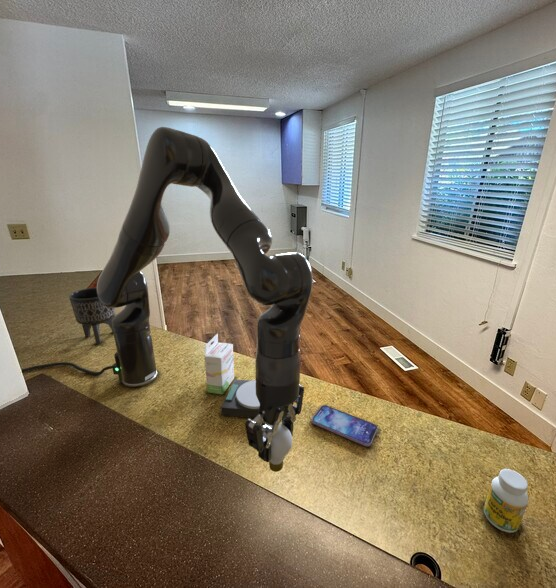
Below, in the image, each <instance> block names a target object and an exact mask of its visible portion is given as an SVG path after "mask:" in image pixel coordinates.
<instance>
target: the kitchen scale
mask: <svg viewBox="0 0 556 588" xmlns="http://www.w3.org/2000/svg"><path fill="white" fill-rule="evenodd" d="M259 407H260V403H259V401H258V398H257V396H256V379H254V380H253V379H252V380H249V379H248V380H247V379H237V378H234V379H233V381H232V383H231V386H230V388H229V390H228V392H227V394H226V396H225V399H224V401H223V403H222V405H221V407H220V409H221V410H220V411H221V416H229V417H237V418H238V417H239V418H248V419H255V418H256V417H257V416H258V410H259Z"/></svg>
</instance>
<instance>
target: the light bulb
mask: <svg viewBox="0 0 556 588" xmlns="http://www.w3.org/2000/svg"><path fill="white" fill-rule="evenodd" d="M268 426H269V427H271V428H272V426H271V425H268ZM263 437H264V438H267V434H266V433H265V432H264V434H263ZM292 445H293V436H292V435H291V433H290V431H289V429H288V428H287V427H286V426H284V425H282V423H279V426H278V430H277V433H276V434H275V435H273V438H272V441H271V460H270V461H269V462H268V467H269V469H270V471H272V472H275V473H277V472H280V471H281V470H283V467H284V460H285V458H286V456H287V455H288V454H289V453H290V451H291V450H292V447H293V446H292Z"/></svg>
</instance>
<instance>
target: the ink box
mask: <svg viewBox="0 0 556 588" xmlns="http://www.w3.org/2000/svg"><path fill="white" fill-rule="evenodd" d="M204 364H205V367H204V368H205V377H206V378H205V379H206V380H205V381H206V393H209V394H216V395H224V394H225V392H226V391H227V389H228V388H229V386H230V385H231V384H232V383H233V382H234V380H235V363H234V344H233V343H227V342H219V333H216V334H215V335H214V336H213V337H212V338H210V340H209V341H208V342H207V343H205V345H204Z"/></svg>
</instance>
